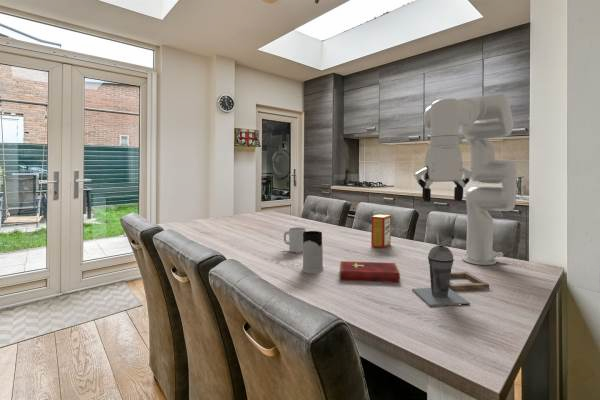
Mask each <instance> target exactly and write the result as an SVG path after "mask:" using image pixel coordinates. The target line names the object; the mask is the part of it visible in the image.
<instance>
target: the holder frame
mask: <svg viewBox="0 0 600 400" xmlns="http://www.w3.org/2000/svg"><path fill="white" fill-rule="evenodd" d="M454 278H455V279H458V278H459V279H460V278H461V279H463V278H465V279H467V280H468V281H470V282H472V283H453V282H451V281H450V284H449V288H450V289H451V290H452V291H469V290H470V291H471V290H473V289H474V290H475V289H476V290H490V283H487V282H485V281H484V280H482V279H481V278H479V277H477V276H475V275H473V274H471V273H469V272H467V271H457V272H455V271H453V272H452V271H451V276H450V279H454Z"/></svg>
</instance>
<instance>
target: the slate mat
mask: <svg viewBox="0 0 600 400" xmlns="http://www.w3.org/2000/svg"><path fill="white" fill-rule="evenodd" d="M411 290H412V292H413V293H414V294H416V295H417V297H419V298H420V299H421V300H422V301H423V302H424V303H425V304H426V303H427V304H426V305H427V306H429V307H430V306H432V307H446V306H445V305H455V306H460V305H459V304H470V305H471V303H470V301H468V300H467V299H465V298H464V297H463V296H461V295H460V294H458V293H457V292H456V291H455V290H451V289H450V288H449V292H448V297H446V298H437V297H434V296H433V295H432V291H431V287H421V288H418V287H417V288H412V289H411Z"/></svg>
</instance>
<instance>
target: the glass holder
mask: <svg viewBox="0 0 600 400" xmlns="http://www.w3.org/2000/svg"><path fill="white" fill-rule="evenodd" d="M323 247H324V246H323V232H322V231H319V230H308V231H307V230H306V232H303V253H302V268H301V270H302V271H301V272H304V273H306V274H318V273H322V272H324V270H325V269H324V264H323V262H324V260H323V255H324V254H323V252H324V251H323Z"/></svg>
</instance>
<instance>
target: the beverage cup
mask: <svg viewBox="0 0 600 400" xmlns="http://www.w3.org/2000/svg"><path fill="white" fill-rule="evenodd" d="M435 233H436V243H437V245H434V246H433V247H432V248H431V249H430V250H429V252H428V256H427V259H428V265H429V277H430V278H429V279H430V288H431V291H432V295H433V296H434V297H437V298H446V297H448V292H449V284H450V282H451V278H450V276H451V272H452V267H453V265H454V261H455V260H454V254H453V252H452V251H451V250H450V249H449V247H447V246H445V245H440V239H439V231H435Z"/></svg>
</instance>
